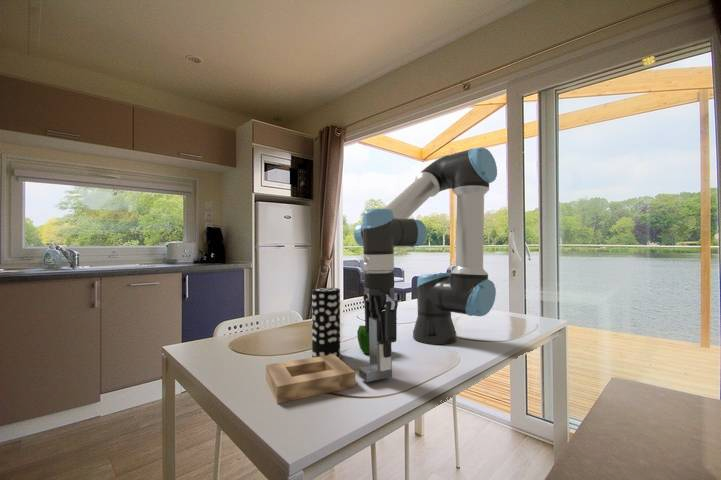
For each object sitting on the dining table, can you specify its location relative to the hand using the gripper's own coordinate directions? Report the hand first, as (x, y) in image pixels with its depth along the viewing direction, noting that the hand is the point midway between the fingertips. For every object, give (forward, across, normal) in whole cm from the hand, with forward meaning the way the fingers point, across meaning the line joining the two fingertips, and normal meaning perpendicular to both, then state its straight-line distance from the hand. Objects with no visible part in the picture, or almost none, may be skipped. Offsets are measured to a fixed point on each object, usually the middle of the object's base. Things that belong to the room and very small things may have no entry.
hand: (380, 366), depth 80 cm
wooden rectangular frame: (+3, -6, -16) cm, 18 cm away
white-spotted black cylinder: (+3, -22, -6) cm, 23 cm away
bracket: (+2, 0, -1) cm, 3 cm away
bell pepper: (+4, -20, +8) cm, 22 cm away
